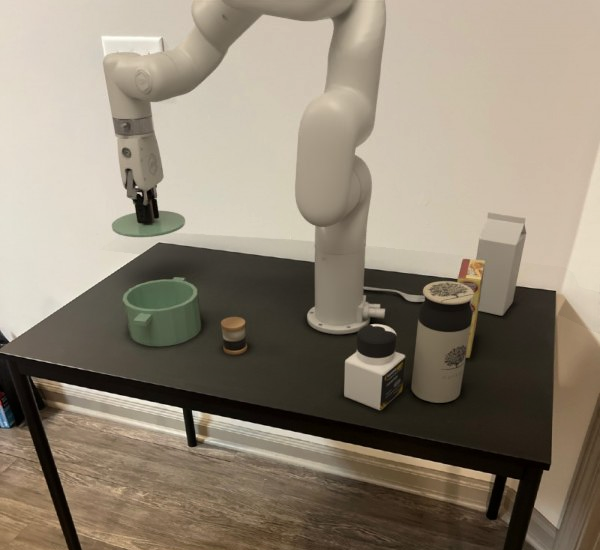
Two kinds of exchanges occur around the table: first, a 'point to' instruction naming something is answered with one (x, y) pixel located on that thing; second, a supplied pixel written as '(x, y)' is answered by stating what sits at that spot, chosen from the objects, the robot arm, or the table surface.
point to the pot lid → (158, 227)
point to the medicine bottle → (374, 368)
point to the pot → (162, 312)
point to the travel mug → (442, 341)
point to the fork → (408, 297)
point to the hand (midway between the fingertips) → (148, 219)
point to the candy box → (473, 278)
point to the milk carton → (500, 261)
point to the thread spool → (234, 335)
